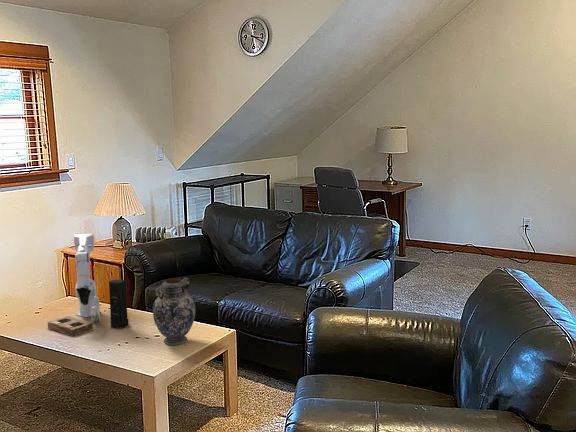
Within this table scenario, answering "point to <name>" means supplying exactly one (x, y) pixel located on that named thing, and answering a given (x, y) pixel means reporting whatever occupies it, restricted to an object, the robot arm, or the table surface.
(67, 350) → the table surface
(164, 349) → the table surface
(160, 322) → the decorative vase
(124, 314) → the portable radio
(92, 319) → the steel peg
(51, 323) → the socket board
